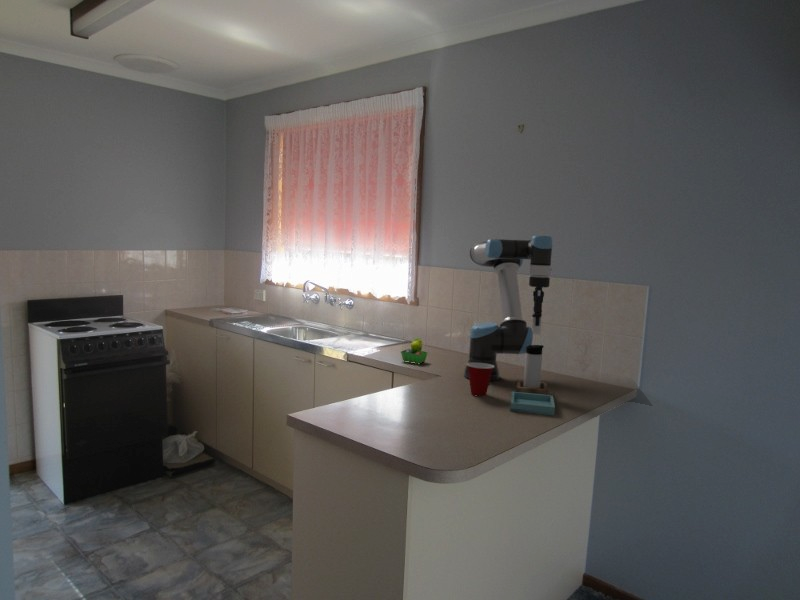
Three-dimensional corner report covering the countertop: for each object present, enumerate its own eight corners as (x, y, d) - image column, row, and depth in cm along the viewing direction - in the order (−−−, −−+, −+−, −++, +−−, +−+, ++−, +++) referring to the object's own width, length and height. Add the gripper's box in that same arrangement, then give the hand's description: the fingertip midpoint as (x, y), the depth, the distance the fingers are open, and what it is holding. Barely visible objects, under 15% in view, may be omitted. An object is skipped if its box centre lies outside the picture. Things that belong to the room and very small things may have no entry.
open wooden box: (516, 397, 216) (516, 387, 215) (516, 389, 227) (517, 380, 227) (547, 400, 213) (548, 390, 213) (546, 392, 225) (546, 382, 224)
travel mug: (537, 398, 216) (540, 347, 213) (520, 395, 219) (523, 344, 217) (542, 394, 221) (545, 344, 219) (526, 391, 225) (529, 342, 222)
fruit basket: (399, 362, 268) (400, 338, 266) (409, 358, 275) (409, 336, 274) (420, 365, 262) (421, 341, 260) (429, 362, 269) (430, 339, 268)
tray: (510, 411, 199) (510, 402, 199) (511, 399, 214) (511, 391, 213) (554, 415, 196) (554, 407, 195) (552, 403, 210) (552, 395, 210)
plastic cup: (496, 392, 221) (498, 363, 220) (488, 399, 212) (490, 368, 210) (469, 388, 226) (471, 359, 224) (460, 395, 216) (462, 364, 215)
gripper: (551, 279, 202) (547, 337, 204) (548, 274, 226) (545, 327, 228) (529, 278, 203) (526, 336, 206) (529, 273, 227) (526, 325, 230)
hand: (536, 331), depth 217 cm, fingers open, 13 cm apart
